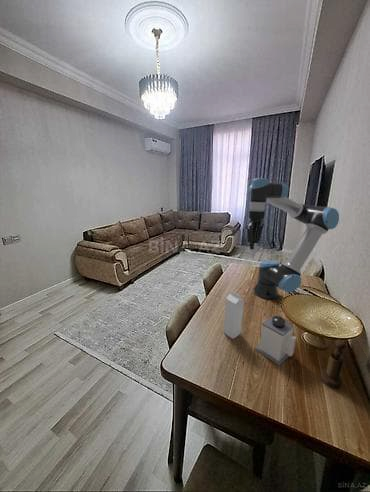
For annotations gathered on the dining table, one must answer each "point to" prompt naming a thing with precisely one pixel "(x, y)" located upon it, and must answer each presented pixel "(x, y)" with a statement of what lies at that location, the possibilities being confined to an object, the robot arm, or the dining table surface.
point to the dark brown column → (334, 367)
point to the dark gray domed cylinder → (278, 322)
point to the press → (276, 342)
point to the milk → (233, 315)
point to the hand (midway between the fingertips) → (252, 254)
